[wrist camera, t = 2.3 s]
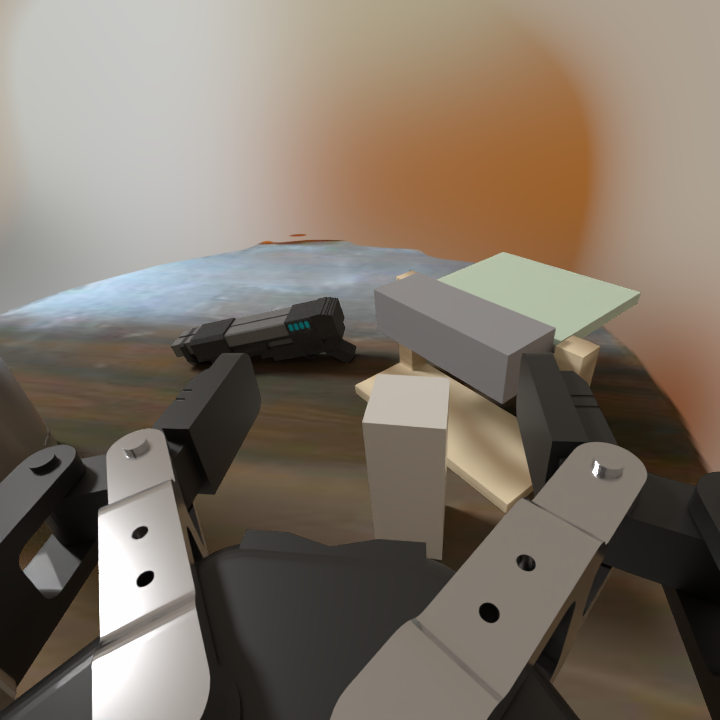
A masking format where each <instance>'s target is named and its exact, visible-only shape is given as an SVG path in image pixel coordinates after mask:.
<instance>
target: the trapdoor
mask: <svg viewBox="0 0 720 720" xmlns="http://www.w3.org/2000/svg"><path fill="white" fill-rule="evenodd" d="M374 293H375V306H376V320H377V330H378V331H380V332H382V333H383V334H385V335H387V336H388V337H390V338H392V339H393V340H395V341H397V342H398V343H400V344H402V345H403V346H405V347H407V348H408V349H410V350H412V351H413V352H415V353H417V354H419V355H420V356H422V357H424V358H425V359H427V360H429V361H430V362H432V363H434V364H435V365H437V366H439V367H440V368H442V369H444V370H445V371H447V372H449V373H450V374H452V375H454V376H456V377H457V378H459V379H461V380H462V381H464V382H466V383H467V384H469V385H471V386H472V387H474V388H476V389H477V390H479V391H481V392H482V393H484V394H486V395H488V396H489V397H491V398H493V399H494V400H496V401H498V402H499V403H501V404H503V403H505V402H506V401H508V400H509V399H511V398H513V397H514V396H516V395H517V390H518V381H519V372H520V363H521V357H522V354H523V353H551V352H552V353H554V352H555V347H556V345H558V344H559V343H561V342H563V341H564V340H566V339H568V338H569V337H571V336H576V337H578V338H581V339H582V338H583V337H585V336H586V335H588V334H589V333H591V332H593V331H594V330H596V329H597V328H599V327H601V326H602V325H604V324H605V323H607V322H608V321H610V320H612V319H613V318H615V317H617V316H618V315H620V314H621V313H623V312H625V311H626V310H628V309H629V308H631V307H632V306H634V305H636V304H637V303H638V300H639V297H640V293H641V292H638V291H634V290H631V289H627V288H624V287H621V286H617V285H614V284H611V283H607V282H604V281H600V280H597V279H593V278H590V277H586V276H583V275H580V274H577V273H573V272H570V271H566V270H563V269H559V268H556V267H552V266H549V265H546V264H542V263H539V262H536V261H532V260H529V259H525V258H522V257H519V256H515V255H511V254H508V253H505V252H502V253H500V254H497V255H495V256H492V257H490V258H488V259H485V260H483V261H481V262H478V263H476V264H473V265H471V266H469V267H466V268H464V269H461V270H459V271H457V272H454V273H452V274H449V275H447V276H445V277H442V278H440V279H437V280H435V279H433V278H430V277H428V276H425V275H423V274H420V273H415V274H413V275H410V276H408V277H405V278H403V279H400V280H398V281H395V282H393V283H390V284H387V285H385V286H382V287H380V288H377V289H375V290H374Z"/></svg>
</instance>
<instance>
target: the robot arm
mask: <svg viewBox="0 0 720 720" xmlns="http://www.w3.org/2000/svg"><path fill="white" fill-rule="evenodd" d="M260 404H261V397H260V392H259V388H258V384H257V381H256V377H255V373H254V370H253V366H252V362H251V359H250V357H249V355H248V354H246V353H223V354H221V355H220V356H219V357H218V358H217V359H216V361H215V362H214V363H213V364H212V366H211V367H210V368H209V369H205V370H204V371H202V372H201V373H199V374H198V375H196V376H195V377H194V378H192V379H191V380H190V382H189V383H188V384H187V385H186V386H185V388H184V389H183V391H181V392H180V394H179V395H178V396H177V397H176V400H174V401H173V402H172V403H171V405H170V406H169V407H168V408H167V409H166V411H165V412H164V413H163V414H162V415H161V417H160V418H159V419H158V420H157V421H156V423H155V424H154V425H153V426H152V427H151V429H142V430H138V431H135V432H132V433H130V434H128V435H126V436H124V437H122V438H121V439H119V440H118V441H117V442H116V443H114V444H113V445H112V447H111V448H110V449H109V451H108V453H107V454H103V455H98V456H93V457H88V458H83V459H80V457H79V455H78V454H77V452H76V450H75V449H74V448H73V447H72V446H69V445H58V443H57V441H56V440H55V438H54V437H53V435H52V434H51V431H50V430H49V428H48V426H47V425H46V424H45V423H44V421H43V420H42V418H41V417H40V415H39V414H38V412H37V411H36V409H35V407H34V406H33V404H32V403H31V401H30V400H29V398H28V397H27V395H26V394H25V392H24V391H23V389H22V388H21V386H20V385H19V383H18V382H17V380H16V379H15V377H14V376H13V374H12V373H11V371H10V369H9V368H8V366H7V365H6V363H5V362H4V360H3V359H2V357H1V356H0V720H580V719H579V718H578V716H577V715H576V714H575V713H574V711H573V710H572V709H571V707H570V706H569V705H568V704H567V702H566V701H565V700H564V699H563V697H562V696H561V695H560V694H559V692H558V691H557V690H556V689H555V687H554V686H553V685H552V684H553V682H554V680H555V678H556V677H557V675H558V673H559V671H560V670H561V668H562V666H563V664H564V662H565V660H566V658H567V656H568V654H569V652H570V650H571V648H572V646H573V643H574V641H575V639H576V636H577V634H578V632H579V630H580V628H581V626H582V625H583V623H584V621H585V619H586V617H587V616H588V614H589V612H590V610H591V609H592V607H593V605H594V603H595V602H596V600H597V598H598V596H599V595H600V593H601V591H602V589H603V588H604V586H605V584H606V582H607V581H608V579H609V577H610V575H611V574H612V572H613V570H614V568H617V569H620V570H623V571H626V572H629V573H632V574H634V575H637V576H640V577H643V578H646V579H649V580H652V581H654V582H657V583H660V584H662V587H663V589H664V592H665V595H666V597H667V600H668V603H669V605H670V608H671V611H672V614H673V616H674V619H675V622H676V624H677V627H678V630H679V632H680V635H681V638H682V640H683V643H684V646H685V648H686V651H687V654H688V656H689V659H690V662H691V665H692V667H693V670H694V673H695V675H696V678H697V681H698V683H699V686H700V689H701V691H702V694H703V697H704V699H705V702H706V705H707V707H708V710H709V713H710V716H711V718H712V720H720V472H712V473H708V474H706V475H704V476H702V477H701V478H700V479H699V481H698V483H697V485H696V486H694V485H690V484H686V483H682V482H678V481H674V480H670V479H666V478H663V477H659V476H656V475H654V474H651V473H649V472H647V471H646V468H645V466H644V464H643V463H642V462H641V461H640V460H639V459H638V458H637V457H636V456H635V455H634V454H632V453H631V452H629V451H628V450H626V449H624V448H622V447H619V446H618V444H617V442H616V440H615V438H614V436H613V434H612V432H611V430H610V428H609V426H608V424H607V422H606V420H605V418H604V416H603V414H602V411H601V409H599V405H598V403H597V401H596V399H595V398H594V397H593V393H592V391H591V389H590V387H589V385H588V383H587V382H586V381H585V380H584V379H583V378H581V377H580V376H579V375H578V374H577V373H575V372H574V371H560V370H559V367H558V365H557V362H556V360H555V357H554V355H553V353H523V354H522V357H521V363H520V372H519V381H518V390H517V399H516V413H517V421H518V425H519V429H520V434H521V438H522V443H523V447H524V451H525V456H526V460H527V464H528V469H529V473H530V477H531V482H532V486H533V490H534V495H535V498H534V499H533V500H532V501H531V500H530V499H528V498H526V497H523V498H521V499H520V500H518V501H517V502H516V503H515V505H514V506H513V507H512V508H511V509H510V510H509V512H508V513H507V514H506V515H505V516H504V517H503V519H502V520H501V521H500V522H499V523H498V524H497V526H496V527H495V528H494V529H493V530H492V531H491V533H490V534H489V535H488V536H487V537H486V538H485V540H484V541H483V542H482V543H481V544H480V546H479V547H478V548H477V549H476V550H475V551H474V553H473V554H472V555H471V556H470V557H469V558H468V560H467V561H466V562H465V563H464V564H463V565H462V567H461V568H460V569H459V570H458V571H457V572H456V571H454V570H453V569H451V568H449V567H448V566H446V565H444V564H442V563H440V562H437V561H435V560H432V559H429V558H427V557H426V542H414V541H400V540H386V539H376V540H370V541H364V542H357V543H351V544H345V545H339V546H327V545H324V544H321V543H318V542H315V541H312V540H309V539H306V538H303V537H300V536H297V535H295V534H292V533H289V532H276V531H262V530H249V529H247V530H246V532H245V535H244V537H243V539H242V542H241V544H238V545H234V546H230V547H227V548H224V549H222V550H219V551H216V552H214V553H212V554H210V555H209V553H208V549H207V546H206V542H205V538H204V535H203V531H202V527H201V524H200V520H199V516H198V512H197V509H196V506H195V504H194V502H193V501H194V499H195V497H196V495H197V494H213V495H215V493H216V491H217V489H218V487H219V485H220V484H221V482H222V480H223V478H224V476H225V474H226V472H227V471H228V469H229V467H230V465H231V463H232V461H233V460H234V458H235V456H236V454H237V452H238V450H239V448H240V447H241V445H242V443H243V441H244V439H245V437H246V436H247V434H248V432H249V430H250V428H251V426H252V424H253V423H254V421H255V419H256V417H257V415H258V413H259V410H260ZM43 522H44V523H45V524H46V525H47V527H48V528H49V530H50V531H51V532H52V535H51V536H50V538H49V539H48V540H47V541H46V543H45V544H44V545H43V547H42V548H41V549H40V550H39V552H38V553H37V554H36V555H35V557H34V558H33V559H32V561H31V562H30V563H29V564H28V566H27V567H26V568H25V569H24V571H22V570H21V568H20V566H19V556H20V553H21V550H22V549H23V547H24V545H25V544H26V543H27V542H28V540H29V539H30V538H31V537H32V536H33V534H34V533H35V532H36V531H37V530H38V528H39V527H40V526H41V525H42V524H43ZM98 561H99V596H100V636H99V637H97V638H96V639H95V640H93V641H92V642H91V643H89V644H88V645H87V646H85V647H84V648H83V649H82V650H80V651H79V652H78V653H76V654H75V655H74V656H72V657H71V658H70V659H68V660H67V661H66V662H64V663H63V664H62V665H61V666H59V667H58V668H57V669H55V670H54V671H53V672H51V673H50V674H49V675H47V676H46V677H45V678H43V679H42V680H41V681H40V682H38V683H37V684H36V685H34V686H33V687H32V688H30V689H29V690H28V691H26V692H25V693H24V694H22V695H21V696H20V697H19V698H17V699H16V700H15V696H16V688H17V686H18V685H19V683H20V682H21V680H22V678H23V677H24V675H25V674H26V672H27V671H28V669H29V668H30V666H31V664H32V663H33V661H34V660H35V658H36V657H37V655H38V654H39V652H40V651H41V649H42V647H43V646H44V644H45V643H46V641H47V640H48V638H49V637H50V635H51V634H52V632H53V630H54V629H55V627H56V626H57V624H58V623H59V621H60V620H61V618H62V617H63V615H64V613H65V612H66V610H67V609H68V607H69V606H70V604H71V603H72V601H73V600H74V598H75V596H76V595H77V593H78V592H79V590H80V589H81V587H82V586H83V584H84V583H85V581H86V579H87V578H88V576H89V575H90V573H91V572H92V570H93V569H94V567H95V565H96V564H97V562H98ZM14 700H15V701H14Z"/></svg>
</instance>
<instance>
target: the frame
mask: <svg viewBox="0 0 720 720" xmlns="http://www.w3.org/2000/svg"><path fill="white" fill-rule="evenodd" d="M415 273H417V272H414V271H410V272H407V273H405V274H402V275H399V276H397V277H396V280H397V281H398V280H400V279H403V278H405V277H408V276H410V275H413V274H415ZM599 350H600V346H598V345H596V344H593V343H591V342H588V341H586V340H583V339H581V338H578V337H576V336H571V337H569V338H568V339H566V340H564V341H563V342H561V343H559V344H558V345H556V347H555V352H554V357H555V360H556V362H557V365H558V367H559V370H560V371H574V372H575V373H577V374H578V375H579V376H580V377H581V378H583V379H584V380H585V381H586V382H587V383H588V385H589V387H590V384H591V380H592V376H593V372H594V369H595V365H596V361H597V357H598V353H599ZM399 351H400V363H398V364H396V365H394V366H392V367H390V368H388V369H386V370H384V371H382V372H380V373H378V374H389V375H407V376H425V377H443V378H450V377H449V376H447V375H445V374H444V373H442V372H440V371H439V370H437V369H435V368H434V367H432V366H430V365H429V364H427V363H426V359H425V358H424V357H422V356H420V355H419V354H417V353H415V352H413V351H412V350H410V349H408V348H407V347H405V346H403V345H402V344H400V343H399ZM376 375H377V374H376ZM376 375H374V376H373V377H371V378H369V379H367V380H365V381H363V382H361V383H359V384H357V385H355V389H356V393H357V394H358V395H359V396H360V397H362V398H363V399H364V400H365V401H367V402H369V398H370V395H371V392H372V388H373V385H374V382H375V378H376ZM447 467H449V468H450V469H451V470H452V471H454V472H455V473H456V474H457V475H459V476H460V477H461V478H462V479H464V480H465V481H466V482H467V483H469V484H470V485H471V486H472V487H474V488H475V489H476V490H477V491H479V492H480V493H481V494H482V495H484V496H485V497H486V498H487V499H489V500H490V501H491V502H492V503H493V504H495V505H496V506H497V507H498V508H500V509H501V510H502V511H503V512H505V513H507V512H508V511H509V510H510V509H511V508H512V507H513V506H514V505H515V503H516V502H517V501H518V500H520V499H521V498H523V497H526V496H528V495H529V494H530V493H531V492H533V491H534V490H533V486H532V482H531V477H530V473H529V469H528V464H527V460H526V456H525V451H524V447H523V443H522V438H521V434H520V429H519V425H518V421H517V417H515V416H513V415H512V414H510V413H508V412H507V411H505V410H503V409H502V408H500V407H498V406H497V405H495V404H493V403H492V402H490V401H488V400H487V399H485V398H483V397H482V396H480V395H478V394H477V393H475V392H473V391H472V390H470V389H468V388H467V387H465V386H464V385H462V384H460V383H459V382H457V381H455V380H454V379H452V378H450V394H449V421H448V448H447Z"/></svg>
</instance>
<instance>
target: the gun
mask: <svg viewBox="0 0 720 720" xmlns="http://www.w3.org/2000/svg"><path fill="white" fill-rule="evenodd" d="M343 321H344V315H343V312H342V309H341V306H340V303H339V300H338V298H333V297H332V298H331V297H328V298H327V297H324V298H319V299H318V300H314V301H310V302H305V303H300V304H296V305H292V307H290V308H285V309H280V310H276V311H271V312H266V313H262V314H257V315H253V316H248V317H243V318H239V319H235V318H231V319H226V320H222V321H217V322H212V323H208V324H203V325H202V326H201V327H197V328H192V329H188V330H184V331H183V332H182V334H181V335H180V336H179V339H176V340H175V342H174V343H173V344H172V345H171V347H172V349H173V351H174V352H175V354H176V356H177V357H181V356H185V358H186V359H187V361H188V362H189V363H190V364H192V365H197V364H198V363H200V362H204V361H208V362H212V363H214V362H215V361H216V359H217V358H218V357H219V356H220V355H221V354H223V353H246V354H248V355H249V357H251V356H257V355H261V356H262V358H263V359H264V358H269V357H273V359H274V361H279V360H284V359H290V358H295V357H301V356H305V357H307V358H310V359H314V358H315V357H316V356H317V355H319V354H320V353H322V352H326V354H329V355H331V356H333V357H334V358H337V359H339V360H340V361H342V362H345V363H349V362H350V361H351V359H352V358H353V357H354V355H355V350H356V346H355V345H353V344H351V343H348V342H347V341H344V339H342V338H343V334H344V330H345V326H344V323H343Z"/></svg>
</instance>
